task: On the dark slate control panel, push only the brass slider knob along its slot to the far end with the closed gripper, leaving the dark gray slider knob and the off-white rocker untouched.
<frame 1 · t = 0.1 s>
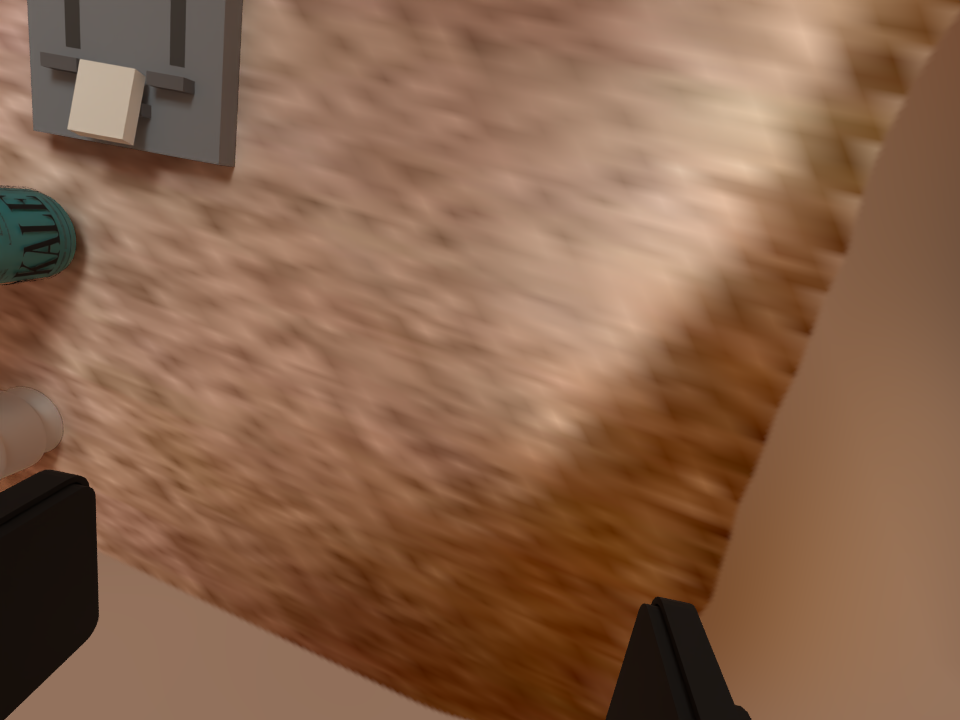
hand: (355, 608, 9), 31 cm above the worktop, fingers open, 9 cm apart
beverage bottle: (58, 232, 41), on the worktop
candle: (31, 420, 46), on the worktop
rocker: (106, 102, 34), point 4 cm above the worktop, hinge at -15.0°
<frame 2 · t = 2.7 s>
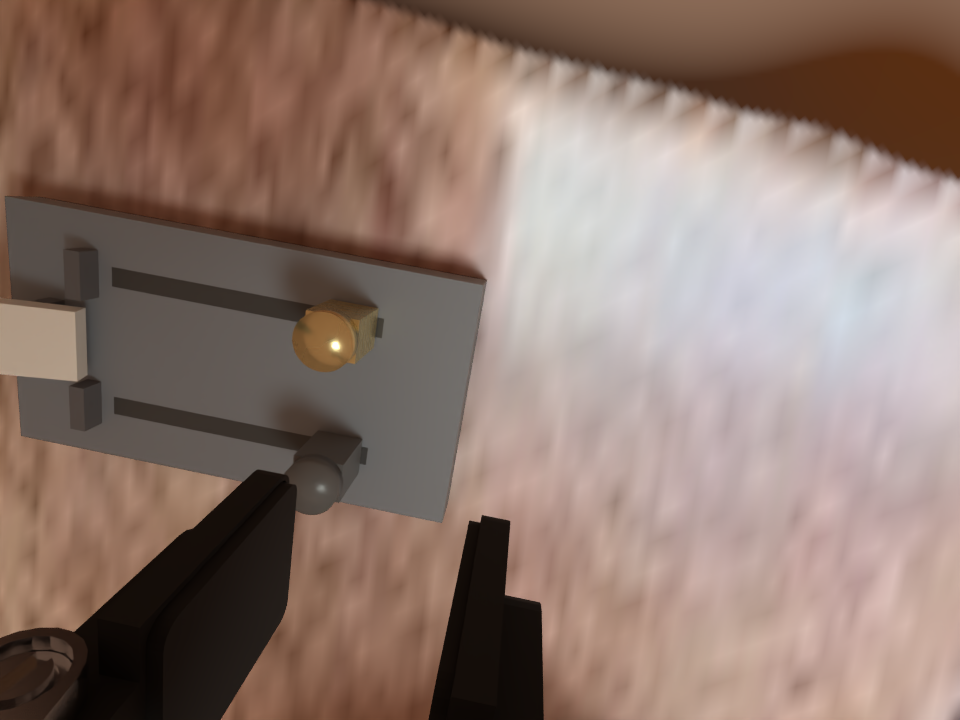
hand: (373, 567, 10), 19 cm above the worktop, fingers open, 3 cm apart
brass slider: (338, 332, 25), point 4 cm above the worktop, slide at 0.0 cm
panel: (252, 356, 30), on the worktop
rocker: (31, 339, 27), point 4 cm above the worktop, hinge at -15.0°
dark gray slider: (324, 469, 27), point 4 cm above the worktop, slide at 0.0 cm
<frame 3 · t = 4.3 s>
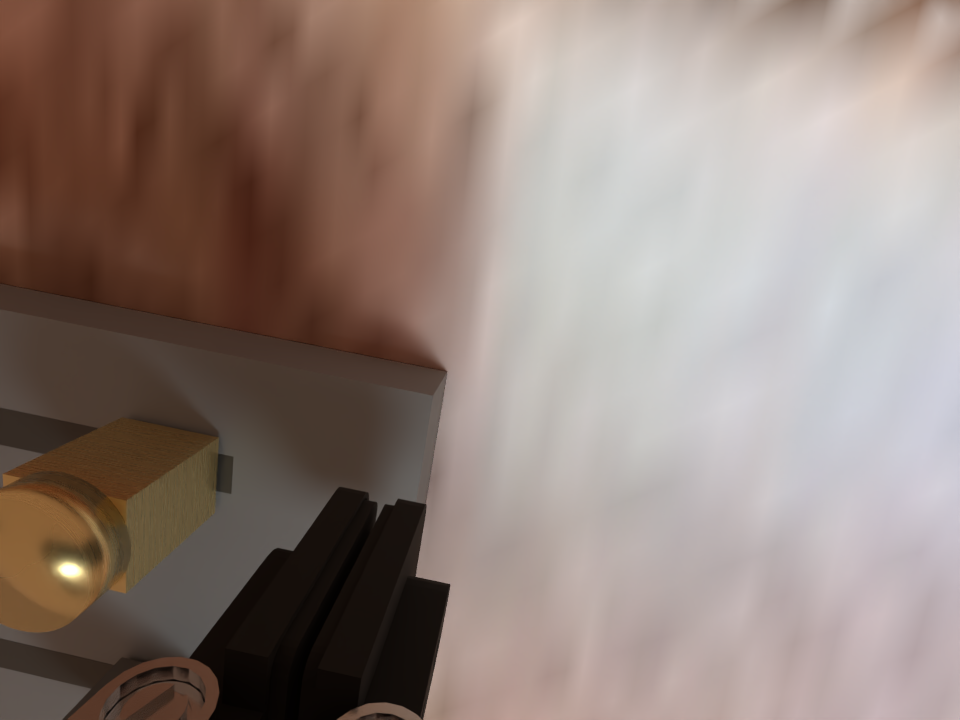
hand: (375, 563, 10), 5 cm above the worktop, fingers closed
brass slider: (105, 507, 11), point 4 cm above the worktop, slide at 0.0 cm
panel: (22, 499, 16), on the worktop
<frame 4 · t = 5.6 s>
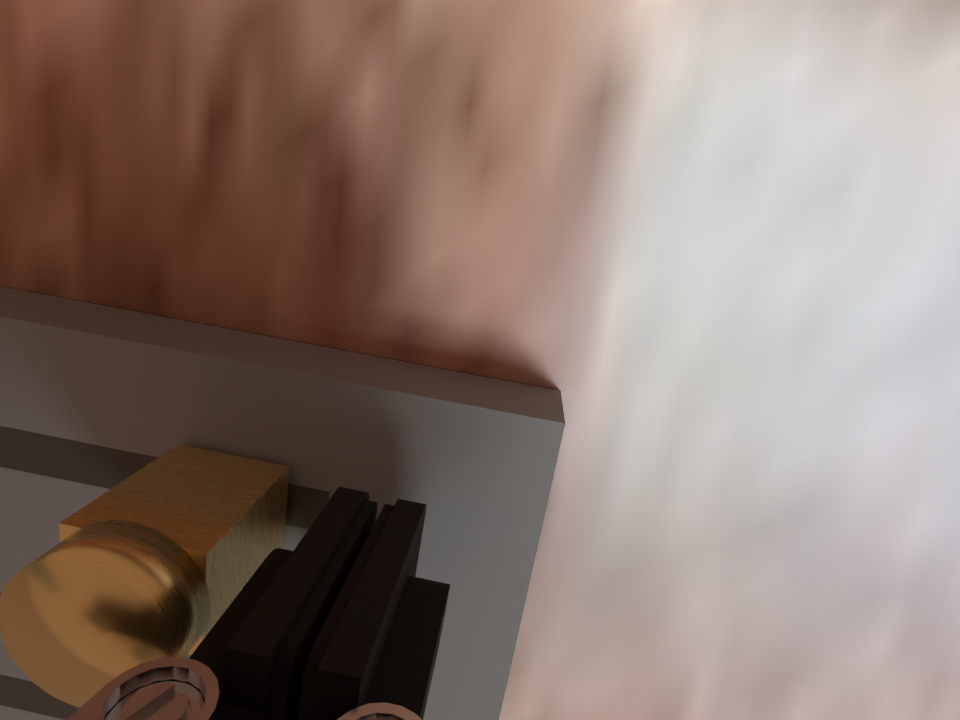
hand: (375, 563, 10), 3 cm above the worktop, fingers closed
brass slider: (172, 554, 10), point 4 cm above the worktop, slide at 0.5 cm, touching gripper
panel: (76, 531, 15), on the worktop
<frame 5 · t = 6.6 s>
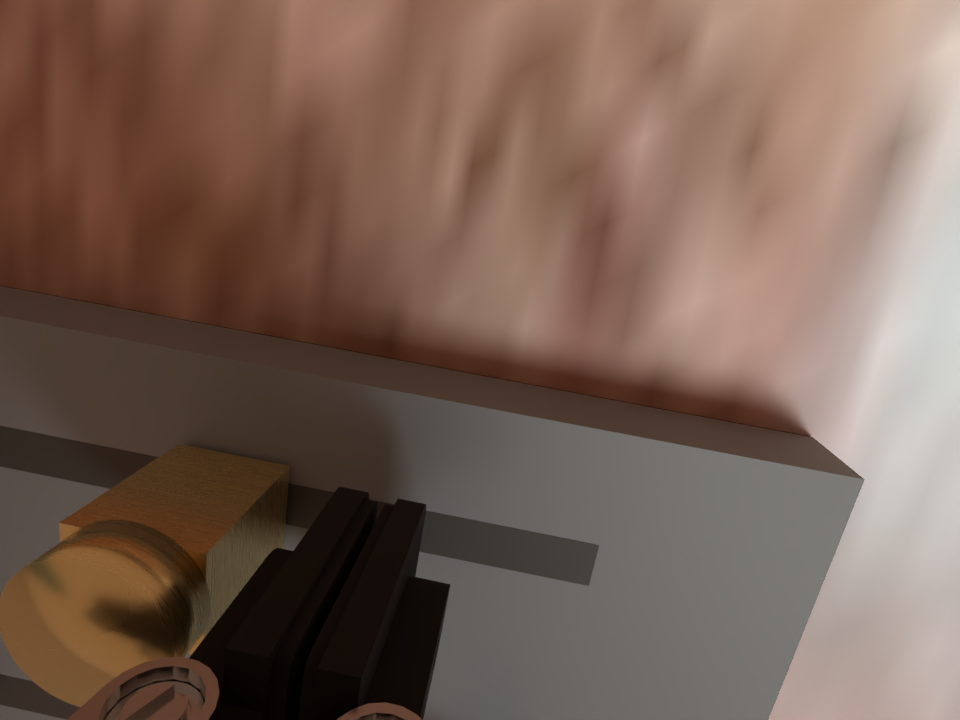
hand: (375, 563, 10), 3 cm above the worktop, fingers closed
brass slider: (172, 553, 10), point 4 cm above the worktop, slide at 6.3 cm, touching gripper
panel: (279, 573, 15), on the worktop
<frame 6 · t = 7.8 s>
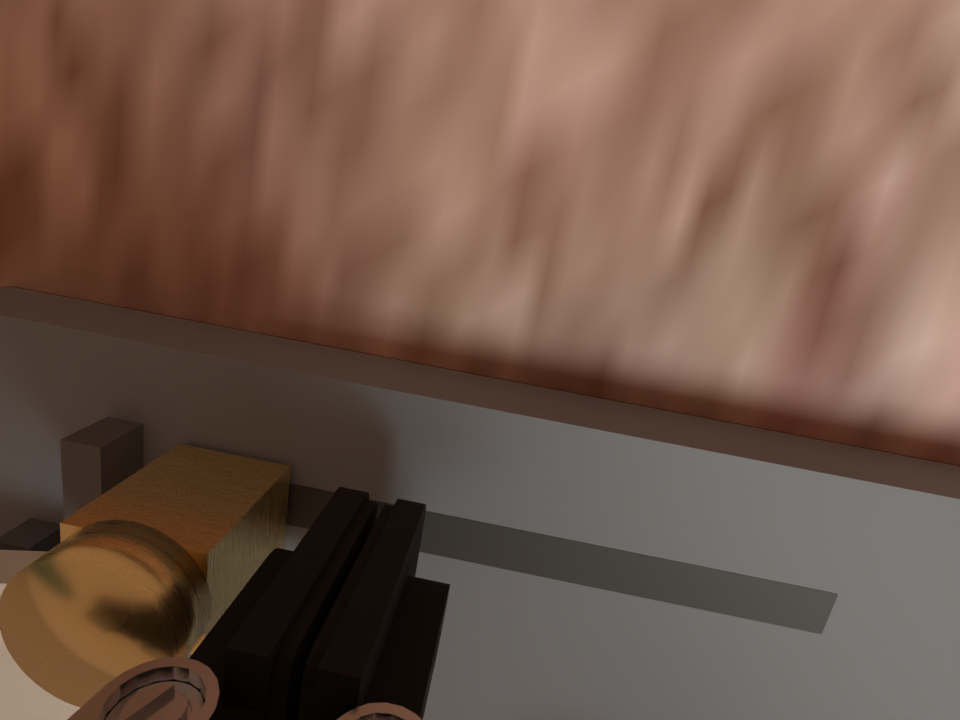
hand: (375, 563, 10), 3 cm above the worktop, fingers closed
brass slider: (173, 554, 10), point 4 cm above the worktop, slide at 11.1 cm, touching gripper
panel: (456, 610, 14), on the worktop
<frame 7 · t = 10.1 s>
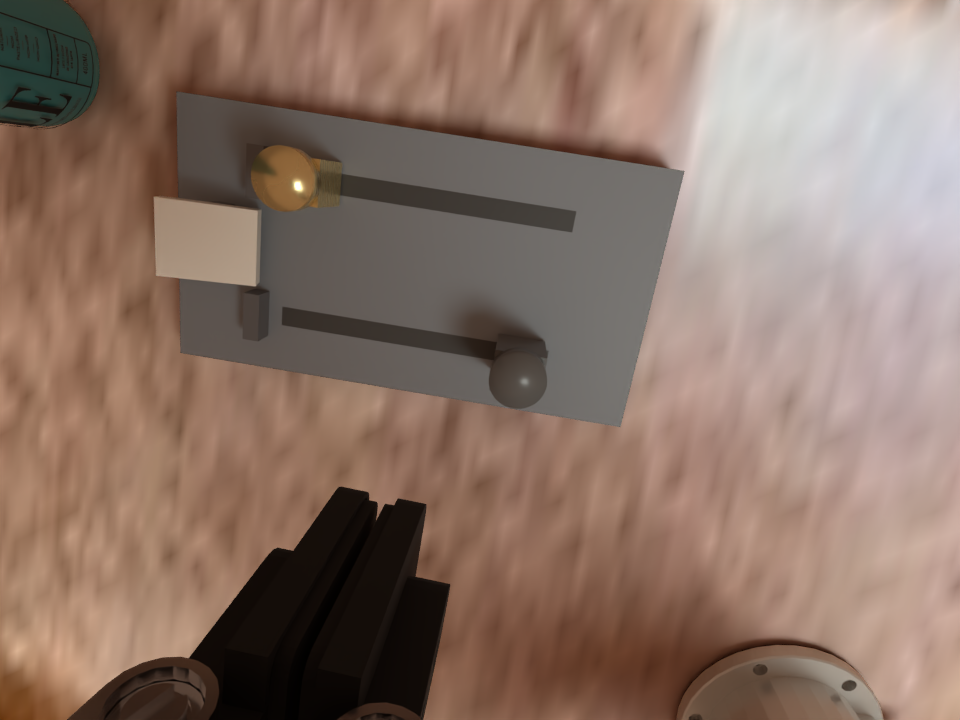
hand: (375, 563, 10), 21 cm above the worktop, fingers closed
brass slider: (300, 180, 24), point 4 cm above the worktop, slide at 11.0 cm
beverage bottle: (68, 67, 28), on the worktop
panel: (418, 264, 29), on the worktop
rocker: (209, 241, 26), point 4 cm above the worktop, hinge at -15.0°
dark gray slider: (518, 367, 26), point 4 cm above the worktop, slide at 0.0 cm
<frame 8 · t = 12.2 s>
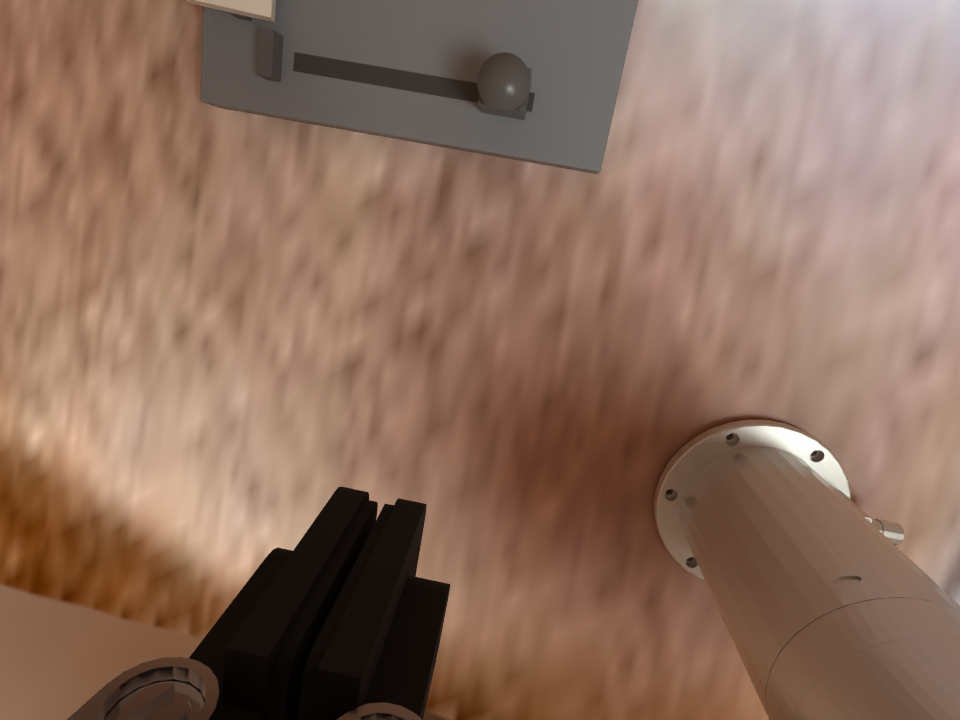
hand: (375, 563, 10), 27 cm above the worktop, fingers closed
panel: (419, 23, 32), on the worktop
dark gray slider: (505, 90, 29), point 4 cm above the worktop, slide at 0.0 cm
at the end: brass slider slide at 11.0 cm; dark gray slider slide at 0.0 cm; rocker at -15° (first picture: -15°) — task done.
